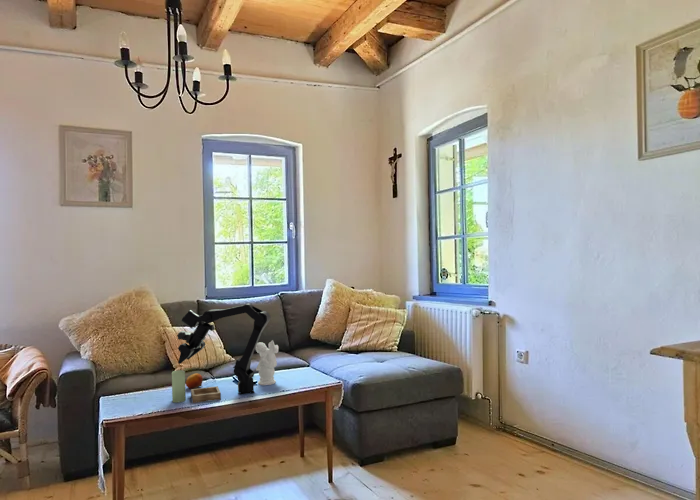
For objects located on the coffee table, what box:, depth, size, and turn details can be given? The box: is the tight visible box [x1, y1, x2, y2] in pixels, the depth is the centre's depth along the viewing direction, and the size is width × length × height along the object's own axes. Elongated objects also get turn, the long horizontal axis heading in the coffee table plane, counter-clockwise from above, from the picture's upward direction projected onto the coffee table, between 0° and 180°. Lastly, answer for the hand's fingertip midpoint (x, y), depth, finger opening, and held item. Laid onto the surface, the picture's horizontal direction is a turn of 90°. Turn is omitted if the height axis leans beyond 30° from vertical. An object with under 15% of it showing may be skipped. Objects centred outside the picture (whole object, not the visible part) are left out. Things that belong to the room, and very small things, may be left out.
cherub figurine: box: [255, 339, 280, 386], centre depth 257 cm, size 12×12×22 cm
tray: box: [190, 386, 222, 404], centre depth 233 cm, size 12×12×3 cm
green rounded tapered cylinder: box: [171, 369, 187, 404], centre depth 229 cm, size 6×6×13 cm
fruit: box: [185, 373, 204, 390], centre depth 251 cm, size 8×8×8 cm
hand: (183, 361), depth 243 cm, fingers open, 9 cm apart
